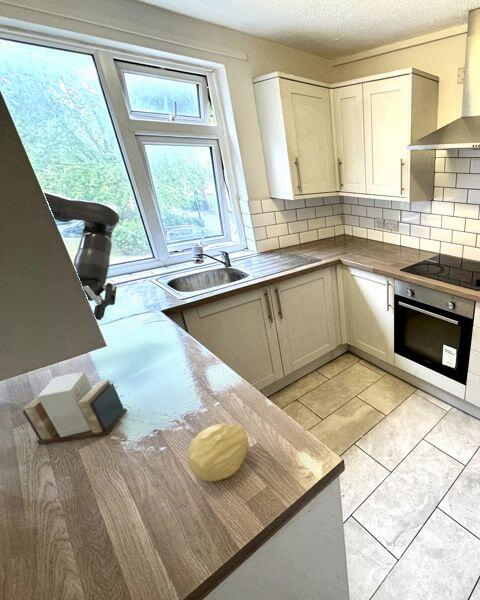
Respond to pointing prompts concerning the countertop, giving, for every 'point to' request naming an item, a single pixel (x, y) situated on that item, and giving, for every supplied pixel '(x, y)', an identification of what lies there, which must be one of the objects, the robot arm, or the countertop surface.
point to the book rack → (95, 405)
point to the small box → (66, 403)
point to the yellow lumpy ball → (218, 451)
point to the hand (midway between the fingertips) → (79, 320)
